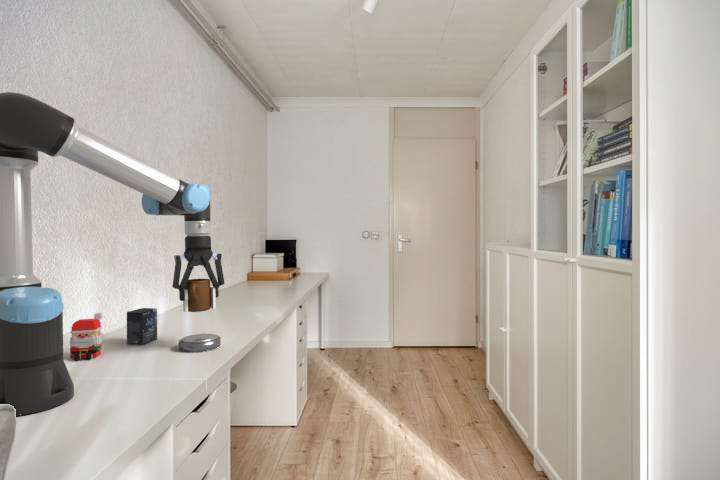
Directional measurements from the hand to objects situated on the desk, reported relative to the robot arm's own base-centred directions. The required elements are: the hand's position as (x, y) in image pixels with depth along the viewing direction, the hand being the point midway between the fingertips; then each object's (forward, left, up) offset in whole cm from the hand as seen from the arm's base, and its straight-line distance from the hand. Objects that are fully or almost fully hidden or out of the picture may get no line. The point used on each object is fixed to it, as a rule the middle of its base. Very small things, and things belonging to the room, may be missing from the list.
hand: (199, 309), depth 135 cm
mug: (-1, 0, -1) cm, 1 cm away
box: (-13, +19, -12) cm, 26 cm away
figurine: (-29, +9, -12) cm, 33 cm away
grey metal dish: (0, 0, -11) cm, 11 cm away
